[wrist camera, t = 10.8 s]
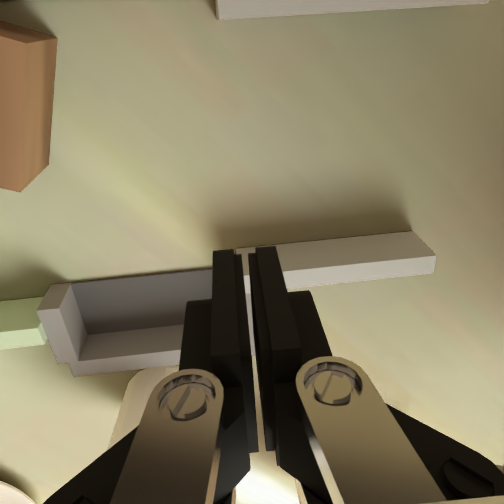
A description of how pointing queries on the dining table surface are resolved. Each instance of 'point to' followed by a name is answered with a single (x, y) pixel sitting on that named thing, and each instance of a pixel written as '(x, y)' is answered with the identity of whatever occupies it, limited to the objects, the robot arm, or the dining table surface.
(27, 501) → the spoon
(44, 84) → the walnut block
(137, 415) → the shot glass
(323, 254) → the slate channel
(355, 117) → the dining table surface
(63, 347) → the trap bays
